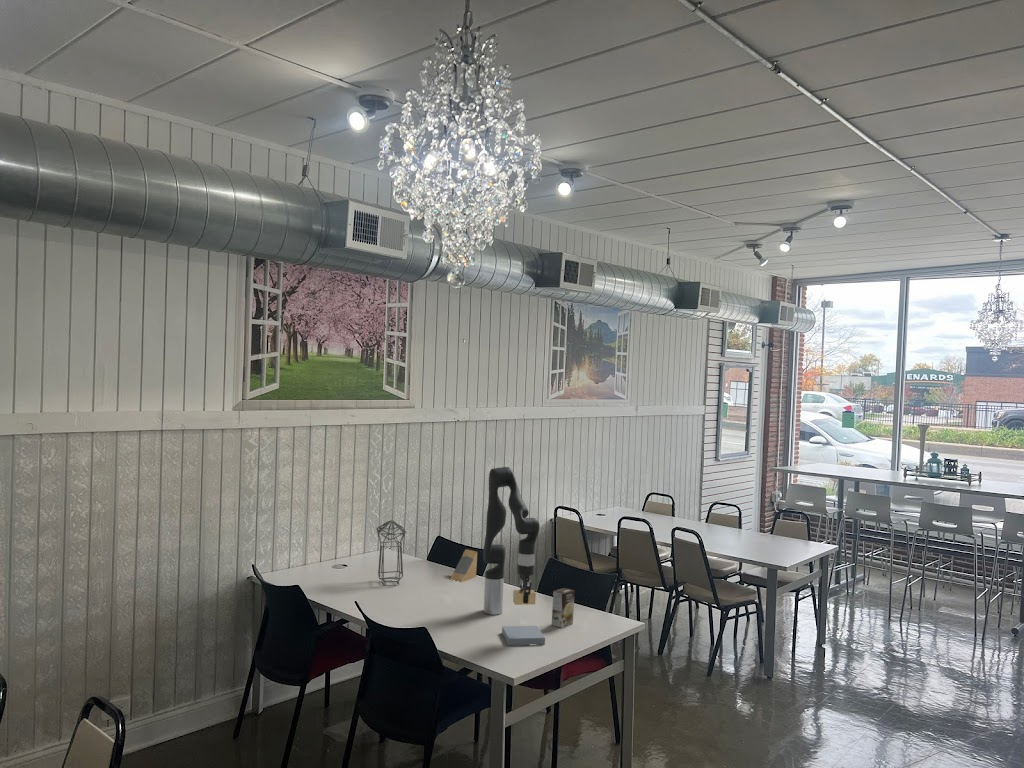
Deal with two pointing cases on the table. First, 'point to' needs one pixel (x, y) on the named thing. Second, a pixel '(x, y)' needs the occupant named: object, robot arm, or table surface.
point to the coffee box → (563, 607)
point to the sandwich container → (466, 566)
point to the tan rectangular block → (519, 597)
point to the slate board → (523, 635)
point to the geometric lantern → (390, 546)
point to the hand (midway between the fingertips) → (524, 601)
